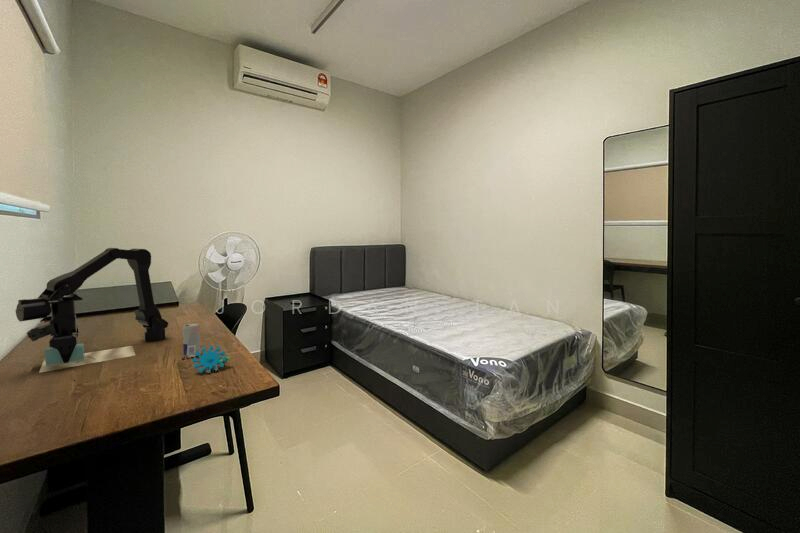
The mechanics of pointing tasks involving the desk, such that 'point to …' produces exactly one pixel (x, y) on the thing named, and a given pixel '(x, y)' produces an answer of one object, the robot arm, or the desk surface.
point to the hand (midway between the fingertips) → (66, 359)
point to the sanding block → (55, 358)
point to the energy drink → (191, 339)
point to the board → (94, 358)
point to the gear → (210, 359)
